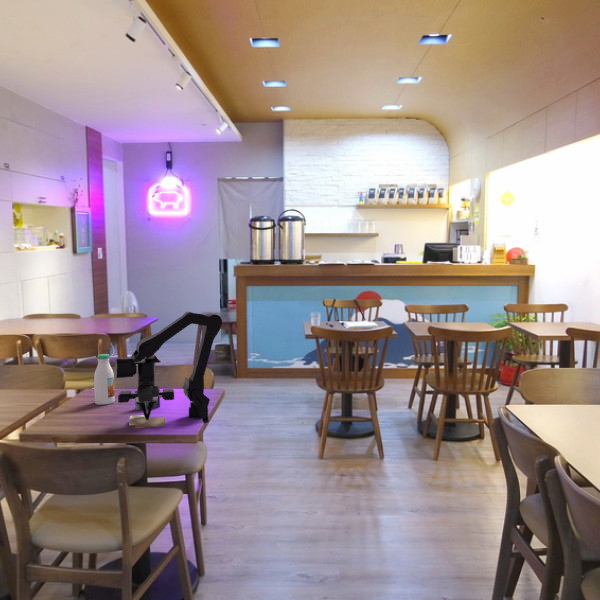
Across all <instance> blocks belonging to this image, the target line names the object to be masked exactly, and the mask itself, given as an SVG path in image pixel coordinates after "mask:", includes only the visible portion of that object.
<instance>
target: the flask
mask: <svg viewBox="0 0 600 600" xmlns="http://www.w3.org/2000/svg"><path fill="white" fill-rule="evenodd" d="M159 392H161V391H160V388H159ZM134 393H137V389H135V390H134ZM160 399H161V397H160V398H158V402H157V403H154V405H153V407H152V409H159V408H161V400H160ZM134 400H135V401H134V406H135V410H136V411H138V410H142V408H141V407H140V405H139V404H136V399H134ZM148 404H149V401H146V408H147V410H148Z"/></svg>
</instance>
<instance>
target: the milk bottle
mask: <svg viewBox="0 0 600 600" xmlns="http://www.w3.org/2000/svg"><path fill="white" fill-rule="evenodd" d="M114 375H115V372H114V370H113V368H112V366H111V364H110V354H109V353H101V354H97V366H96V368H95V371H94V379H93V382H94V383H93V384H94V385H93V388H94V390H93V391H94V403H95V405H99V406H101V405H105V406H107V405H111V404H114V403H115V400H116V399H115V398H116V396H115V376H114Z"/></svg>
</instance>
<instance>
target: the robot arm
mask: <svg viewBox="0 0 600 600" xmlns="http://www.w3.org/2000/svg"><path fill="white" fill-rule="evenodd" d="M191 324H194V325H199V326H201V339H200V342H199V346H198V351H197V353H196V358H195V362H194V364H193V365H194V366H193V369H192V372H191V375H190V376H189V377H186V376H185V377H184V384H183V386H182V387H181V388H182V389H183V395H184V396H185V397H186V398H187V399H189V401H190V403H189V405H190V406H189V407H188V418H189V419H190V418H191V419H202V422H203V423H204V422H209V404H210V401H211V400H210V398H209V397H208V396H207V395H205V394H204V392H205V391H204V389H205V380H204V379H205V373H206V369H207V366H208V363H209V359H210V355H211V350H212V347H213V345H214V344H213V343H214V340H215V338H216V337H217V335H218V334H219V332H220V330H221V327H222V325H223V319H222V317H221V316H220V315H219V314H217V313H213V312H208V313H206V314H203V313H197V312H196V313H195V312H191V311H185V312H184V313H183V314H182V315H180V317H178V318H177V319H175V320H174V321H172V322H171V323H170V324H168V325H167V326H165V327H164V328H163V329H161V330H159V331H158V332H157V333H154V334H151V335H148V336H146V337H145V338H142V339H140V340H139V341H138V342H137V343H136V347H135V348H136V349H135V350H134V352H133V353H132V354H131V356H130V357H123V358H122V357H117V358H115V364H114V365H115V366H114V375H115V376H114V378H115V379H123V378H125V379H126V378H134V376H136V375H137V389H136V390H137V393H135V392H134V393H133V392H132V390H123V391H120V392H119V394H118V395H117V403H120V404H122V403H128V402H129V401H130V400H135V399H136V404H139V405H140V407H141V408H142V409H141V410H142V413H143V415H144V416H145V418H146V420H149V418H150V416H151V412H152V409H153V408H152V407H153V405H154V403H157V402H158V398H160V399H161V398H162V399H163V400H164V401H174V400H175V390H174V389H173V388H164V389H162V391H160V392H159V389H160V388H159V385H156V371H155V370H156V369H155V367H156V366H155V364H156V363H157V364H158V363H159V364H160V363H161V360H160V359H159V358H158V357H157V355H155V354H156V353H157V352H158V351H159V350H160V348H161V347H162V346H163V345H164V344H166V342H167V341H168V340H170V339H171V338H173V337H175V336H176V335H177V334H178V333H180V332H182V331H183V330H184V329H185V328H187V327H188V326H191ZM146 401H149V404H148V409H147V408H146Z"/></svg>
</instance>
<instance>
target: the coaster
mask: <svg viewBox="0 0 600 600" xmlns="http://www.w3.org/2000/svg"><path fill="white" fill-rule="evenodd" d="M144 424H145V416H144V414H140V415H139V414H137V415H130V416H129V419H128V426H135V425H144Z"/></svg>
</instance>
